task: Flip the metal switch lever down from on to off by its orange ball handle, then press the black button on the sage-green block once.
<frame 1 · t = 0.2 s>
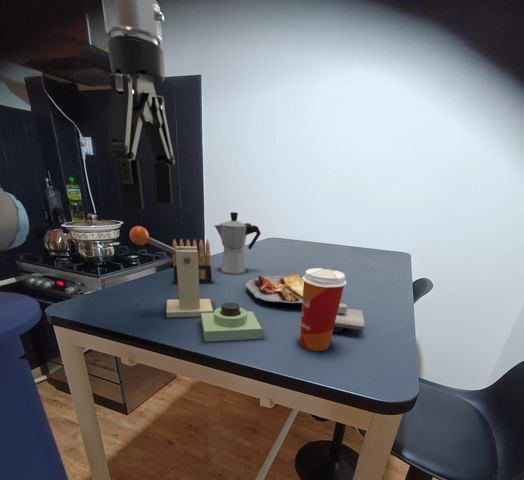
hand: (151, 205, 55), 22 cm above the table, tool pointing down, fingers open, 13 cm apart
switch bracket: (189, 310, 73), on the table
button block: (230, 330, 65), on the table
food plate: (289, 295, 87), on the table
coffee maker: (236, 271, 106), on the table
paper cup: (314, 345, 62), on the table
button: (230, 309, 63), point 5 cm above the table, slide at 0.2 cm
switch lever: (162, 246, 65), point 14 cm above the table, hinge at 25.0°
ammunition clip: (193, 283, 92), on the table
light switch: (338, 327, 70), on the table
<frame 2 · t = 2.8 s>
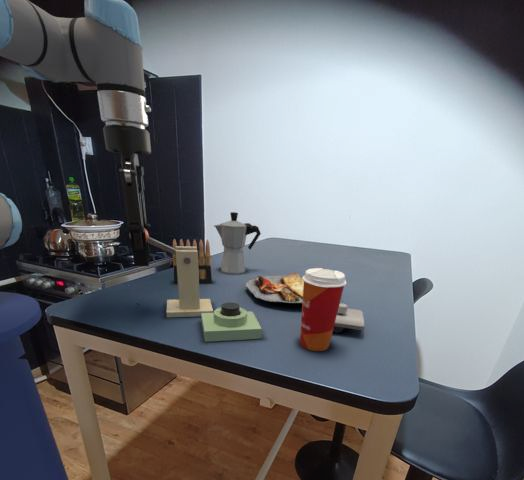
hand: (142, 262, 66), 11 cm above the table, tool pointing down, fingers closed on switch lever, 4 cm apart
switch lever: (162, 246, 65), point 14 cm above the table, hinge at 25.0°, touching gripper
everything else where it was.
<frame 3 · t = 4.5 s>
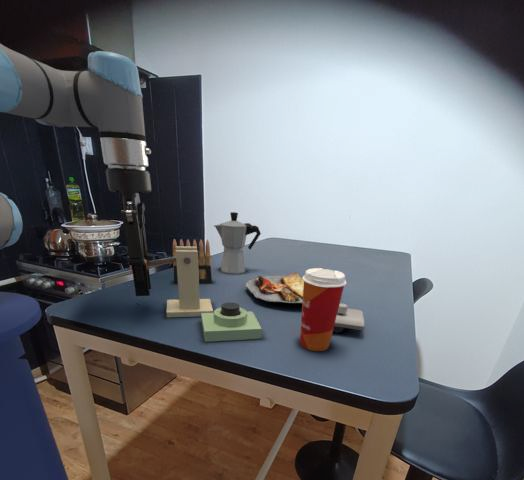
hand: (143, 291, 69), 5 cm above the table, tool pointing down, fingers closed on switch lever, 4 cm apart
switch lever: (162, 261, 67), point 11 cm above the table, hinge at -9.7°, touching gripper
everything else where it was.
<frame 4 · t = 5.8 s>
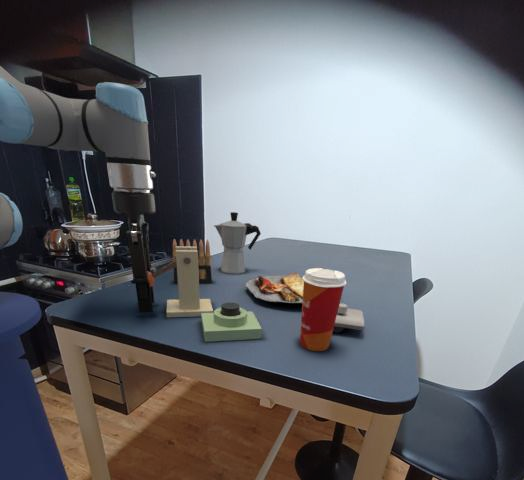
hand: (147, 306, 71), 1 cm above the table, tool pointing down, fingers open, 5 cm apart
switch lever: (165, 268, 68), point 10 cm above the table, hinge at -28.2°
everything else where it was.
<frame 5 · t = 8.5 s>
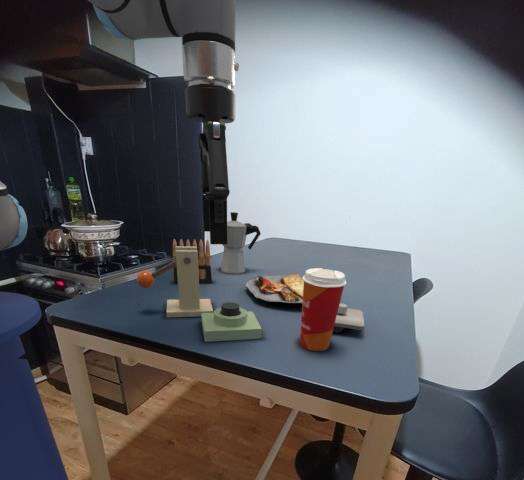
hand: (214, 237, 57), 18 cm above the table, tool pointing down, fingers open, 13 cm apart
nothing on the table moved.
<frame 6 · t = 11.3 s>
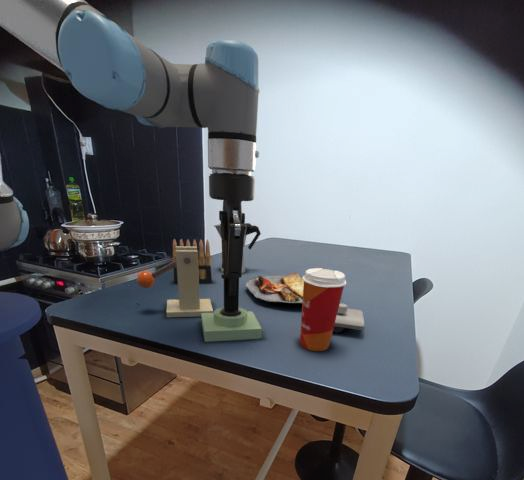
hand: (231, 309, 63), 5 cm above the table, tool pointing down, fingers closed
button: (230, 314, 63), point 4 cm above the table, slide at -0.8 cm, touching gripper
everything else where it was.
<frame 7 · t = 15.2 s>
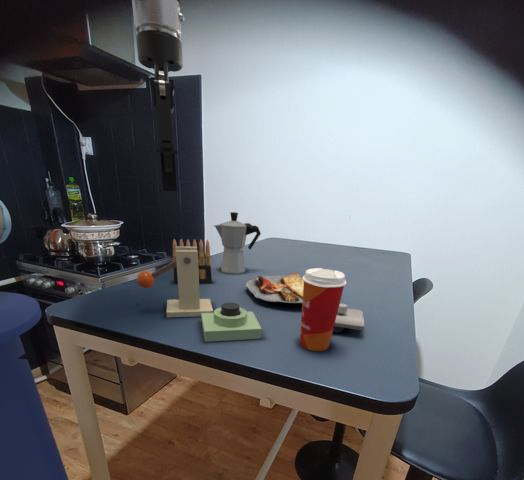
hand: (170, 190, 65), 24 cm above the table, tool pointing down, fingers closed
button: (230, 309, 63), point 5 cm above the table, slide at 0.1 cm
everything else where it was.
at the end: switch lever at -28° (first picture: +25°); button pushed in 1.0 cm at the most during the clip, back to where it started at the end; button slide at 0.1 cm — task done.
